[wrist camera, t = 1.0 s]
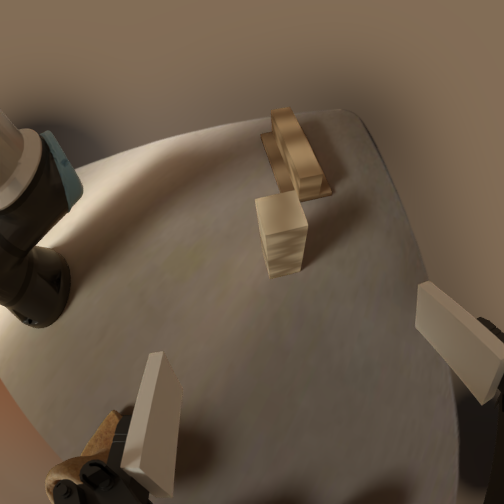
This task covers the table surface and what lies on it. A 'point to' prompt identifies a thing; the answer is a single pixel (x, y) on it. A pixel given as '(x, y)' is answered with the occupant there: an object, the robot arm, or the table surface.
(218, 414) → the table surface
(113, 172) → the table surface
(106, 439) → the tan upright curved piece
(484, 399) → the robot arm
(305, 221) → the block
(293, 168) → the ridge
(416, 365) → the table surface
